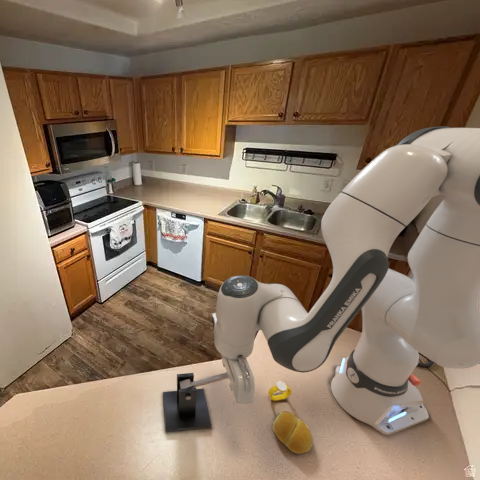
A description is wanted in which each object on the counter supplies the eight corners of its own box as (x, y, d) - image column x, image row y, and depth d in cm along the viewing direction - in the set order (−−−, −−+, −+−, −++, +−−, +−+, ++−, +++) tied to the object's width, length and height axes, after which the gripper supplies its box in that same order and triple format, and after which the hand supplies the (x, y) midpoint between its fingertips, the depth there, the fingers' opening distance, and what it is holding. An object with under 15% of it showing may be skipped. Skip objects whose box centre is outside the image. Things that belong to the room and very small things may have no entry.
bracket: (203, 390, 77) (205, 363, 71) (211, 428, 68) (214, 400, 62) (163, 394, 76) (161, 366, 70) (166, 432, 68) (165, 404, 62)
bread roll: (302, 463, 61) (306, 455, 59) (267, 431, 67) (270, 423, 65) (317, 436, 66) (321, 428, 64) (282, 409, 72) (285, 400, 70)
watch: (285, 391, 76) (289, 379, 73) (290, 401, 73) (295, 389, 71) (265, 394, 75) (269, 382, 72) (270, 404, 73) (274, 392, 70)
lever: (231, 367, 69) (229, 362, 67) (238, 385, 64) (236, 380, 63) (181, 381, 70) (178, 376, 69) (184, 400, 66) (181, 395, 64)
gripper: (266, 380, 51) (257, 418, 57) (233, 306, 68) (229, 342, 75) (234, 383, 50) (229, 421, 57) (209, 309, 68) (208, 344, 75)
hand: (229, 375), depth 66 cm, fingers closed on lever, 5 cm apart
